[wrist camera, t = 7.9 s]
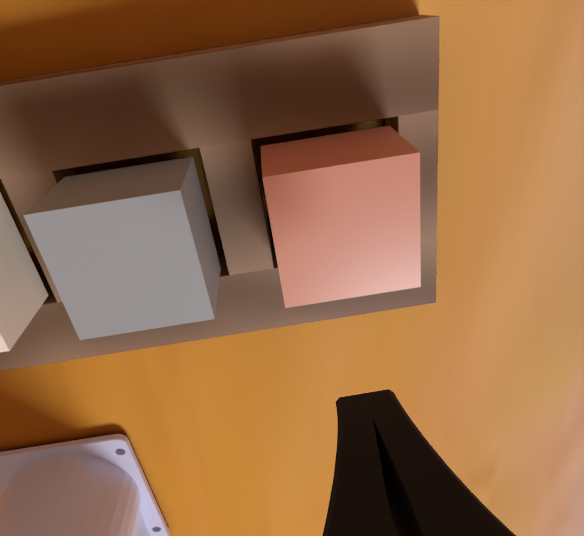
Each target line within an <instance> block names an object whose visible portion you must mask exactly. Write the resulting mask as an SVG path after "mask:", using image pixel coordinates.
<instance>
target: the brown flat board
mask: <svg viewBox="0 0 584 536" xmlns="http://www.w3.org/2000/svg"><path fill="white" fill-rule="evenodd" d="M438 89H439V16H429V15H417V16H410V17H404V18H398V19H391V20H385V21H379V22H373V23H366V24H360V25H354V26H347V27H341V28H335V29H329V30H322V31H316V32H310V33H304V34H297V35H291V36H285V37H278V38H272V39H266V40H260V41H253V42H247V43H241V44H234V45H228V46H222V47H216V48H209V49H203V50H197V51H191V52H184V53H178V54H172V55H165V56H159V57H153V58H147V59H140V60H134V61H128V62H121V63H115V64H109V65H103V66H96V67H90V68H84V69H78V70H71V71H65V72H59V73H52V74H46V75H40V76H34V77H27V78H21V79H15V80H8V81H2V82H0V179H1V180H2V183H3V185H4V187H5V189H6V191H7V194H8V196H9V198H10V200H11V202H12V204H13V207H14V209H15V211H16V213H17V215H18V218H19V220H20V222H21V224H22V226H23V228H24V231H25V233H26V235H27V237H28V239H29V241H30V244H31V246H32V248H33V250H34V252H35V255H36V257H37V259H38V261H39V263H40V265H41V268H42V270H43V272H44V274H45V276H46V279H47V281H48V282H43V285H44V287H45V289H46V291H47V293H48V295H49V296H48V297H47V298H46V300H45V301H44V303H43V304H42V306H41V307H40V308H39V310H38V311H37V313H36V314H35V316H34V317H33V318H32V320H31V321H30V323H29V324H28V326H27V327H26V328H25V330H24V331H23V333H22V334H21V336H20V337H19V338H18V340H17V341H16V343H15V344H14V346H13V347H12V348H11V350H10V351H6V352H0V371H3V370H9V369H16V368H22V367H29V366H35V365H41V364H48V363H54V362H60V361H67V360H73V359H79V358H86V357H92V356H98V355H105V354H111V353H118V352H124V351H130V350H137V349H143V348H149V347H156V346H162V345H168V344H175V343H181V342H188V341H194V340H200V339H207V338H213V337H219V336H226V335H232V334H238V333H245V332H251V331H257V330H264V329H270V328H277V327H283V326H289V325H296V324H302V323H308V322H315V321H321V320H327V319H334V318H340V317H347V316H353V315H359V314H366V313H372V312H378V311H385V310H391V309H397V308H404V307H410V306H416V305H423V304H429V303H436V243H437V166H438ZM383 118H385V126H391V127H392V128H393V129H394V130H395V131H396V132H397V133H398V134H400V135H401V136H402V137H403V138H404V139H405V140H406V141H408V142H409V143H410V144H411V145H412V146H413V147H414V148H416V149H417V150H418V151H419V152H420V245H421V287H417V288H410V289H404V290H398V291H391V292H385V293H378V294H372V295H366V296H359V297H353V298H347V299H340V300H334V301H328V302H321V303H315V304H309V305H302V306H296V307H290V308H285V304H284V298H283V292H282V287H281V281H280V275H279V270H278V264H277V258H276V253H275V247H274V246H272V243H271V238H270V232H269V227H268V221H267V215H266V210H265V204H264V199H263V193H262V188H261V182H260V176H259V171H258V165H257V160H256V154H255V148H254V143H253V139H257V138H263V137H270V136H276V135H282V134H289V133H295V132H301V131H308V130H314V129H320V128H326V127H333V126H339V125H345V124H352V123H358V122H364V121H371V120H377V119H383ZM194 148H200V153H201V157H202V161H203V165H204V169H205V174H206V178H207V182H208V186H209V191H210V195H211V199H212V203H213V208H214V212H215V216H216V220H217V224H218V229H219V233H220V237H221V241H222V246H223V250H224V254H220V255H218V259H219V263H220V268H221V271H220V279H219V287H218V296H217V304H216V313H215V319H212V320H205V321H199V322H193V323H186V324H180V325H173V326H167V327H161V328H154V329H148V330H142V331H135V332H129V333H123V334H116V335H110V336H104V337H97V338H91V339H84V340H79V337H78V335H77V333H76V331H75V329H74V326H73V324H72V322H71V320H70V317H69V315H68V313H67V311H66V309H65V306H64V304H63V302H62V300H61V298H60V295H59V293H58V291H57V289H56V287H55V284H54V282H53V280H52V278H51V275H50V273H49V271H48V269H47V267H46V264H45V262H44V260H43V258H42V256H41V253H40V251H39V249H38V247H37V245H36V242H35V240H34V238H33V236H32V234H31V231H30V229H29V227H28V225H27V222H26V220H25V218H24V216H23V215H24V214H25V213H26V212H27V211H28V210H29V209H30V208H31V207H32V206H34V205H35V204H36V203H37V202H38V201H39V200H40V199H41V198H42V197H43V196H44V195H46V194H47V193H48V192H49V191H50V190H51V189H52V188H53V187H54V186H55V185H56V184H58V183H59V182H60V181H61V180H62V179H63V178H64V177H67V176H73V175H78V173H77V170H76V167H81V166H87V165H93V164H99V163H106V162H112V161H118V160H125V159H131V158H137V157H144V156H150V155H156V154H163V153H169V152H175V151H181V150H188V149H194Z"/></svg>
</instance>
